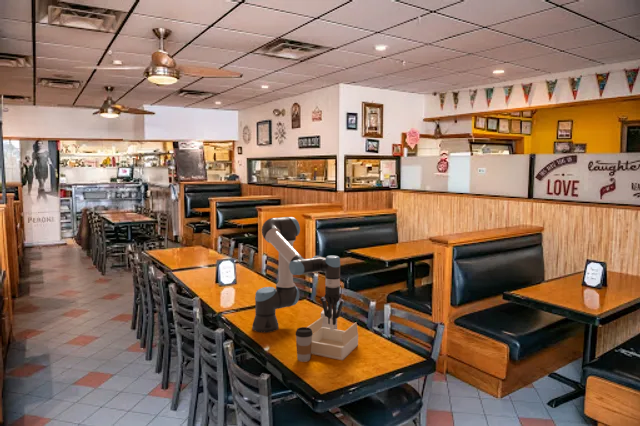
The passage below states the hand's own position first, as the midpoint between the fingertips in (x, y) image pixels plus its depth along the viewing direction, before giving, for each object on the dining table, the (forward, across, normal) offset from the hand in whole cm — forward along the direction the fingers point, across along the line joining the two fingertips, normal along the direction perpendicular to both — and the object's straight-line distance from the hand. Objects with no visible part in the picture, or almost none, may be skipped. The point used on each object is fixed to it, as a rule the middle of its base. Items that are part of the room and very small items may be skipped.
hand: (331, 330), depth 236 cm
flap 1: (0, -10, 0) cm, 10 cm away
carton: (+10, 0, 0) cm, 10 cm away
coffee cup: (+10, -7, -18) cm, 22 cm away
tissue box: (+10, -12, +23) cm, 28 cm away
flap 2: (0, +10, 0) cm, 10 cm away
